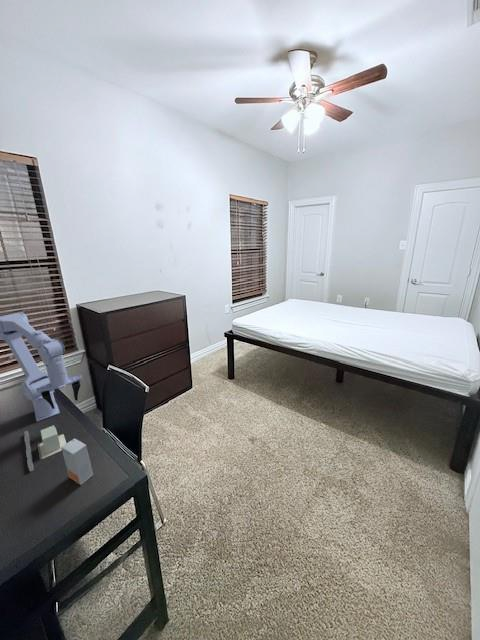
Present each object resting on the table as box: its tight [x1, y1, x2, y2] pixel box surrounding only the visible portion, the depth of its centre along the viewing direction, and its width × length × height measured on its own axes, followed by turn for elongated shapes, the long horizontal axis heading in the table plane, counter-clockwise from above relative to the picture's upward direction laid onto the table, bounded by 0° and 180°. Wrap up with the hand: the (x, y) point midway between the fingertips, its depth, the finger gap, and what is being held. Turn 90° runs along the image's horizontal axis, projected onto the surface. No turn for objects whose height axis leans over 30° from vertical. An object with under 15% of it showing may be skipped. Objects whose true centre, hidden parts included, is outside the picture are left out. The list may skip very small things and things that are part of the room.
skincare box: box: [61, 438, 94, 486], centre depth 80 cm, size 6×4×12 cm
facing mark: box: [36, 433, 68, 461], centre depth 94 cm, size 9×8×1 cm
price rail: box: [23, 430, 35, 472], centre depth 92 cm, size 22×1×2 cm, turn 41°
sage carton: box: [40, 424, 60, 454], centre depth 93 cm, size 4×6×6 cm
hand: (64, 403), depth 103 cm, fingers open, 7 cm apart
